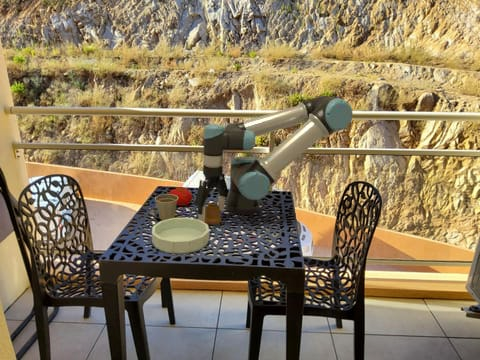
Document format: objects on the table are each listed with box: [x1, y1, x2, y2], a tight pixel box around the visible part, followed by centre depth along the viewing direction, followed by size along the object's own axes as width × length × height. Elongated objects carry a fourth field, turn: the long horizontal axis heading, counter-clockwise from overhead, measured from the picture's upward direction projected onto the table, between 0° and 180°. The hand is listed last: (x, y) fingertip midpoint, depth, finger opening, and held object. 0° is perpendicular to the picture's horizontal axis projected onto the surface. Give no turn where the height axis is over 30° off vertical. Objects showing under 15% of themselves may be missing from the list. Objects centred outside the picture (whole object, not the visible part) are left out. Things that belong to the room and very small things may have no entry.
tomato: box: [168, 186, 193, 207], centre depth 174 cm, size 10×11×6 cm
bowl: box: [151, 217, 210, 255], centre depth 139 cm, size 20×20×4 cm
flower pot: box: [154, 193, 178, 221], centre depth 157 cm, size 9×9×9 cm
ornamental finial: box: [204, 202, 222, 226], centre depth 155 cm, size 8×8×8 cm
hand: (211, 215), depth 155 cm, fingers open, 13 cm apart
